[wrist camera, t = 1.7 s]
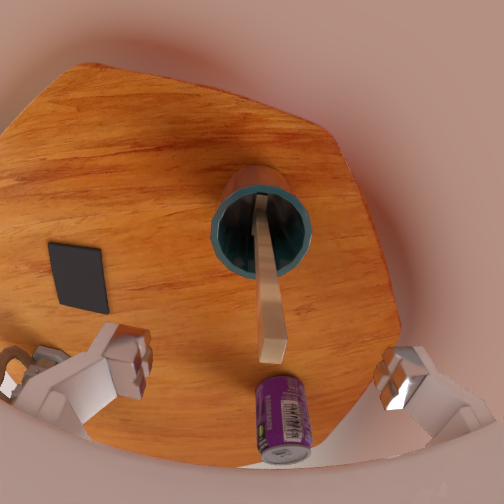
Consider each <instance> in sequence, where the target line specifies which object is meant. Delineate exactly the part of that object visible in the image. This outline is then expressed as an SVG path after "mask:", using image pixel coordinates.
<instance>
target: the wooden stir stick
mask: <svg viewBox="0 0 504 504" xmlns="http://www.w3.org/2000/svg"><path fill="white" fill-rule="evenodd" d="M267 201H268V194H267V193H263V192H257V193H254V196H253V204H252V211H251V235H254V245H255V271H256V298H257V325H258V353H259V362H260V363H274V364H281V363H282V360H283V356H284V352H285V349H286V345H287V342H288V336H287V330H286V324H285V318H284V312H283V306H282V300H281V294H280V288H279V282H278V277H277V271H276V265H275V259H274V254H273V248H272V242H271V237H270V231H269V226H268V220H267V215H266V208H267Z"/></svg>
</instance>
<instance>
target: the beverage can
mask: <svg viewBox="0 0 504 504" xmlns="http://www.w3.org/2000/svg"><path fill="white" fill-rule="evenodd" d="M256 430H257V448H258V450H259V452H260V453H261V460H262V461H263V462H265V463H268V464H271V465H290V464H295V463H298V462H301V461H304V460H305V459H307V458H308V457H309V456H310V455H311V450H310V448H311V446H312V443H313V438H312V432H311V426H310V420H309V414H308V408H307V402H306V396H305V390H304V386H303V384H302V382H301V381H299V380H298V379H296V378H293V377H288V376H278V377H273V378H269V379H267V380H265V381H263V382H262V383H260V384H259V385H258V387H257V388H256Z"/></svg>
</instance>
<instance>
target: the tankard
mask: <svg viewBox="0 0 504 504" xmlns="http://www.w3.org/2000/svg"><path fill="white" fill-rule="evenodd" d="M14 358H16V359H18V360H19V361H21V362H22V363H23V365H24V366H25V367H26V368H27V371H26V372H24V377H23V379H22V381H21V382H22V385H20V384H18V385H17V387H16V388H15V390H14V391H12V395H11V398H10V399H9V398H8V397H7V396H6V395H4V394H3V393H2V392H1V391H0V399H1V400H3V401H5V402H6V403H8V404H10V405H12V406H13V404H14V402H15V401H16V399H17V398H18V396H19V394H20V393H21V391H22V389H23V388H24V386H25V385H26V383H27V381H28V380H29V379H30V378H32V377H34V376H36V375H38V374H40V373H41V372H43V371H45V370H47V369H49V368H51V367H53V366H55V365H57V364H59V363H61V362H63V361H65V360H67V359H69V358H70V357H69V356H68V355H66V354H65V353H64V352H63V351H61V350H57V349H52V348H48V347H44V346H40V345H39V346H38V348H37V349H36V351H35V353H34V355H33V357H32V358H31V357H30V356H29V355H28V354H27V353H26V352H25V351H23V350H22V349H21V348H19V347H18V346H16V345H14V346H11V347H7V348H4V349H3V350H2V352H1V353H0V386H1V384H2V382H3V380H4V376H5V371H6V366H7V364H8V362H9V361H10V360H12V359H14Z"/></svg>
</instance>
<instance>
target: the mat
mask: <svg viewBox="0 0 504 504" xmlns="http://www.w3.org/2000/svg"><path fill="white" fill-rule="evenodd" d="M48 249H49V255H50V261H51V266H52V272H53V276H54V281H55V286H56V290H57V294H58V299H59V303H60V304H62V305H66V306H71V307H75V308H79V309H84V310H88V311H93V312H97V313H102V314H107V315H108V314H109V307H108V301H107V294H106V288H105V280H104V273H103V264H102V255H101V249H96V248H88V247H81V246H73V245H66V244H59V243H52V242H50V243H48Z"/></svg>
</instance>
